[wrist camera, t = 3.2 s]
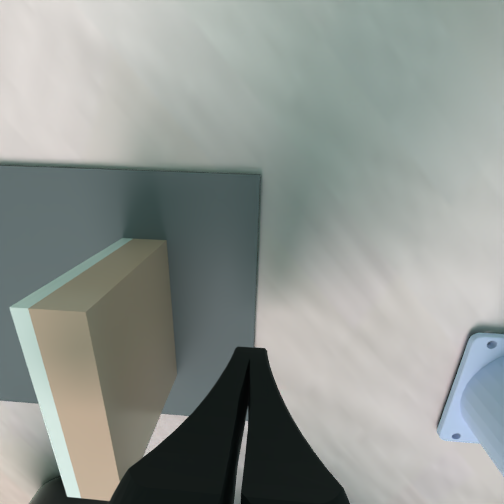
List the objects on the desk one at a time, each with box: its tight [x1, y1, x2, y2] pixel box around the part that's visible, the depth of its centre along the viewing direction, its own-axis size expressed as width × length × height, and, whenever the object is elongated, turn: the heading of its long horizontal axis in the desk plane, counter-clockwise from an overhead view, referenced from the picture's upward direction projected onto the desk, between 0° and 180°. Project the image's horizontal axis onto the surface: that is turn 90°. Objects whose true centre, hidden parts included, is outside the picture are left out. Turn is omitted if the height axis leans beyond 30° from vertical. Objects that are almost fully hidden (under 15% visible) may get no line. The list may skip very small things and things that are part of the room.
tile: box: [9, 238, 177, 501], centre depth 13 cm, size 2×9×7 cm, turn 178°
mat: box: [0, 165, 260, 421], centre depth 17 cm, size 18×16×1 cm
